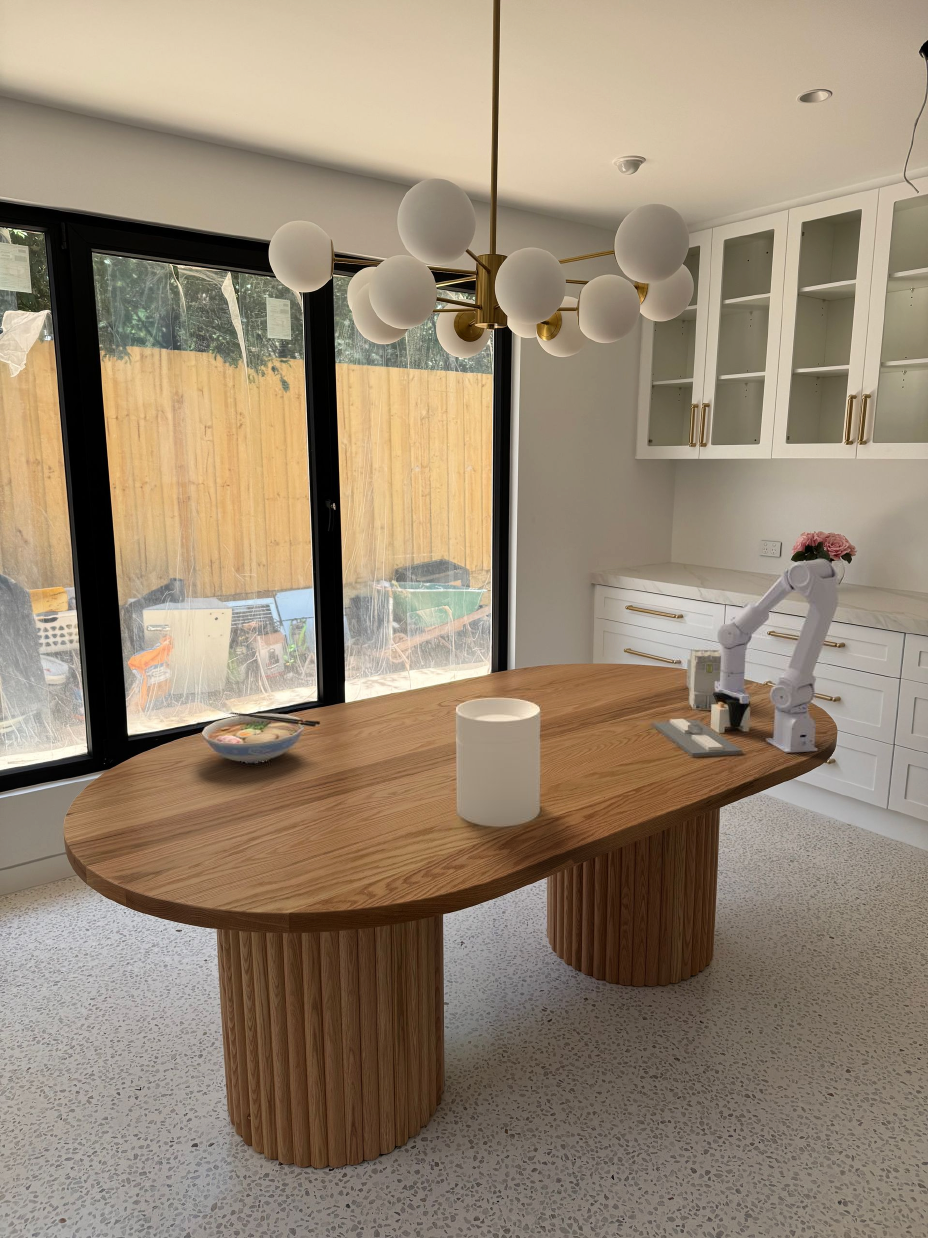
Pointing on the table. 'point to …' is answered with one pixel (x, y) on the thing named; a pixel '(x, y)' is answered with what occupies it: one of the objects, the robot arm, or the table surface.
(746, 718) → the block
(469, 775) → the canister
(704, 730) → the din board
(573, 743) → the table surface
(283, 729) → the ramen bowl
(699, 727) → the block
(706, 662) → the circuit breaker
